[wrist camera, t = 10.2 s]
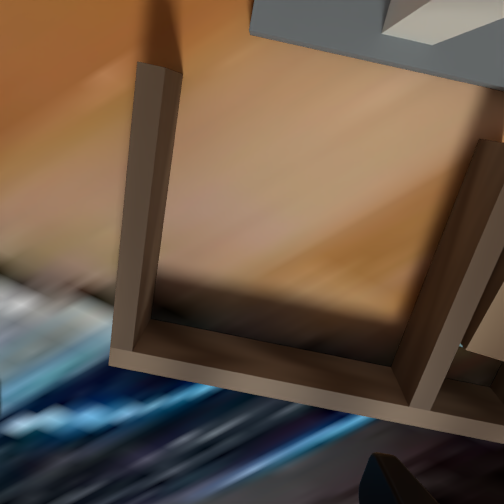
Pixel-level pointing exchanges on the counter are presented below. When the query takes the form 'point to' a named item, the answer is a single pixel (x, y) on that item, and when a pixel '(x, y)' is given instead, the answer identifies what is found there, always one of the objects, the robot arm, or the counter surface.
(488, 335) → the offcut upper
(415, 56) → the mat
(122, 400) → the counter surface
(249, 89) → the counter surface
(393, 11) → the board
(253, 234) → the counter surface
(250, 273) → the counter surface
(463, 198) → the rack
